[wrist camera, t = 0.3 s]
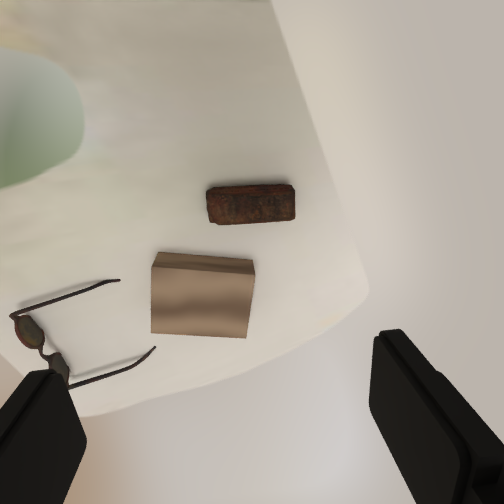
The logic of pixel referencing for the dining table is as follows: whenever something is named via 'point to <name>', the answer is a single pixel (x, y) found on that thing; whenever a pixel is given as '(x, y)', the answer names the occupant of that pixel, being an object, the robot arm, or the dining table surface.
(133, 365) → the eyeglasses
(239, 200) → the brick
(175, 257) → the beige box
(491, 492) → the robot arm
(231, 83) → the dining table surface
